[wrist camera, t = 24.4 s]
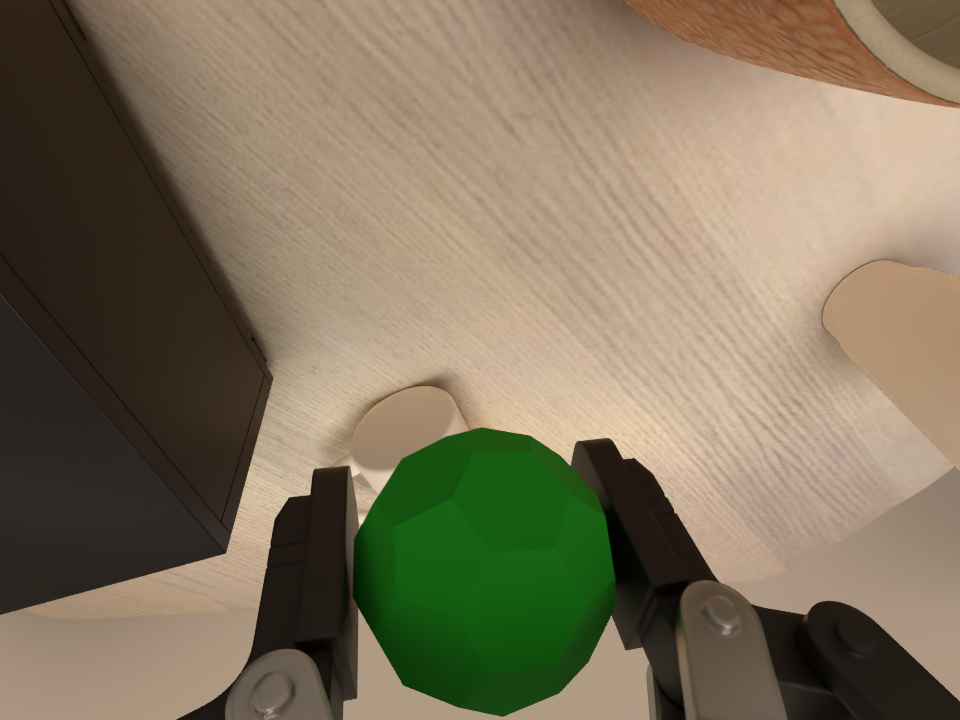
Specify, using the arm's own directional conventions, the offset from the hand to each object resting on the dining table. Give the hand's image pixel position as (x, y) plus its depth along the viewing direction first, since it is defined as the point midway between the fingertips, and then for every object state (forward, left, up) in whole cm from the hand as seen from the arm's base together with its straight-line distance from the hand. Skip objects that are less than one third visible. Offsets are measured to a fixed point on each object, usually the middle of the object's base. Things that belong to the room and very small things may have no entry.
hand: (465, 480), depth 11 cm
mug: (+19, -6, -23) cm, 31 cm away
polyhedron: (0, 0, -1) cm, 1 cm away
